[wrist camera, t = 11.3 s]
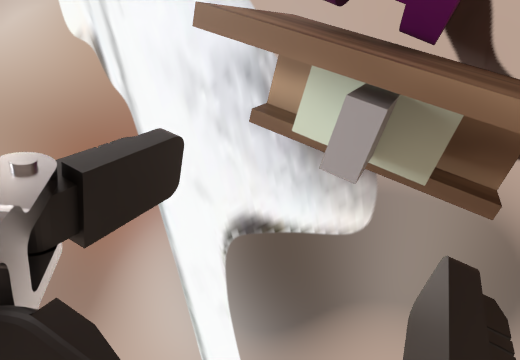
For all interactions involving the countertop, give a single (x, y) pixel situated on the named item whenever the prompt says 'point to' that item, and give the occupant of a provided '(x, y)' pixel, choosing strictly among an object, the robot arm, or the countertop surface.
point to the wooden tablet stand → (392, 79)
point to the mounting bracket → (422, 17)
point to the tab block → (372, 127)
